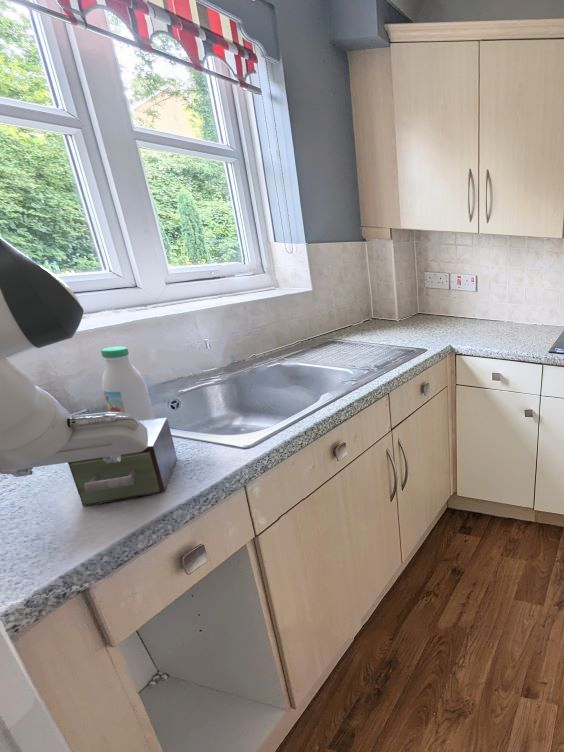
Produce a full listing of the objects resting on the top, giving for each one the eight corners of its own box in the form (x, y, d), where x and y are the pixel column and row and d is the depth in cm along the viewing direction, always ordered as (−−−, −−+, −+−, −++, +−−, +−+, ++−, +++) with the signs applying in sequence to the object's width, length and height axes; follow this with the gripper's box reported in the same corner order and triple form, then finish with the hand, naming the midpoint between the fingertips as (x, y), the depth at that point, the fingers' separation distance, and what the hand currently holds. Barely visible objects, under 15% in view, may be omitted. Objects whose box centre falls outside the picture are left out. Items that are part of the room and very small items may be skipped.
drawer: (154, 503, 80) (143, 464, 77) (75, 518, 75) (60, 476, 72) (171, 460, 94) (162, 425, 92) (105, 470, 90) (94, 434, 87)
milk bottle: (154, 420, 115) (134, 343, 108) (158, 429, 110) (138, 349, 103) (113, 427, 109) (89, 347, 103) (116, 438, 104) (91, 354, 97)
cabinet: (165, 491, 85) (153, 445, 82) (82, 506, 80) (66, 458, 76) (177, 458, 97) (167, 417, 94) (106, 469, 91) (92, 426, 88)
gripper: (130, 392, 59) (161, 432, 71) (-109, 415, 50) (-28, 456, 61) (130, 436, 57) (163, 470, 69) (-119, 468, 48) (-33, 501, 59)
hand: (71, 464), depth 65 cm, fingers open, 8 cm apart
